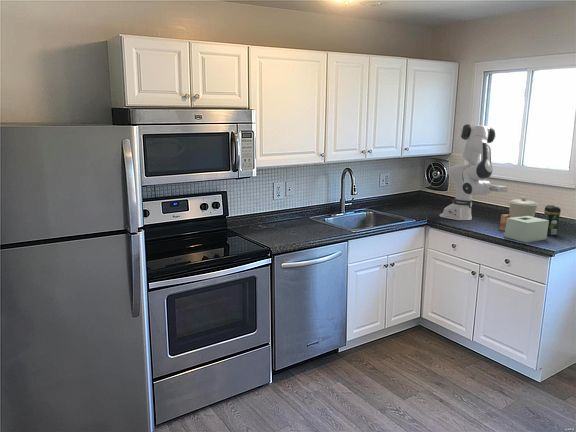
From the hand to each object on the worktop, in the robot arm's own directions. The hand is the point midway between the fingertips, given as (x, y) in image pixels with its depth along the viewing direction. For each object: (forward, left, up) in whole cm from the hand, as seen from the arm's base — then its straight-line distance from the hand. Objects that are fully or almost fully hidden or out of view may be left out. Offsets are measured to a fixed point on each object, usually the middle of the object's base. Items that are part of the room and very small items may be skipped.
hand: (498, 187), depth 296 cm
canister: (+11, +28, -29) cm, 42 cm away
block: (+5, +10, -29) cm, 31 cm away
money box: (+20, -6, -29) cm, 36 cm away
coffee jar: (+30, +18, -29) cm, 45 cm away
